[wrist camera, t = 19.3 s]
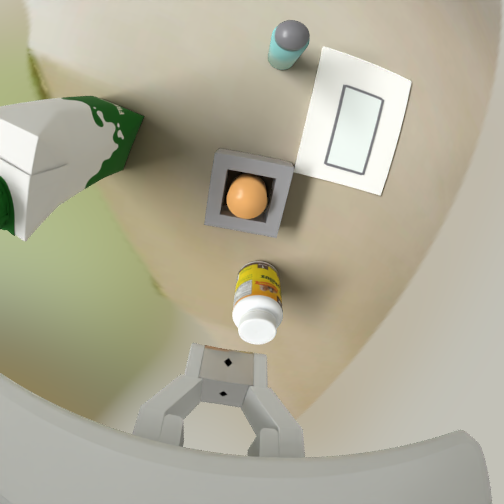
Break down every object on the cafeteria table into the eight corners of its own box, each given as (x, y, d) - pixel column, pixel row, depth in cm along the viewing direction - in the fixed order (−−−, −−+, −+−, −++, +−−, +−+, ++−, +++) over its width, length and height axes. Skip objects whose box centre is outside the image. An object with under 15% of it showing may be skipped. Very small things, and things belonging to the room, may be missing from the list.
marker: (270, 44, 22) (276, 14, 14) (297, 50, 23) (315, 23, 14) (265, 66, 24) (269, 45, 15) (292, 72, 24) (308, 54, 15)
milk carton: (74, 153, 28) (-46, 216, 11) (97, 88, 24) (-40, 103, 7) (127, 179, 30) (14, 268, 13) (155, 111, 26) (23, 135, 9)
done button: (233, 169, 29) (230, 177, 26) (269, 176, 29) (270, 185, 26) (227, 203, 31) (223, 215, 28) (262, 210, 31) (262, 222, 28)
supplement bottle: (287, 280, 37) (294, 336, 28) (253, 299, 38) (252, 355, 30) (263, 250, 35) (264, 304, 26) (228, 272, 36) (219, 327, 27)
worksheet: (322, 46, 22) (323, 45, 22) (409, 81, 23) (411, 81, 23) (293, 171, 30) (293, 172, 29) (379, 194, 30) (380, 196, 30)
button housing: (219, 148, 28) (214, 152, 26) (291, 162, 29) (294, 167, 26) (208, 214, 32) (204, 224, 30) (275, 226, 33) (276, 237, 30)
